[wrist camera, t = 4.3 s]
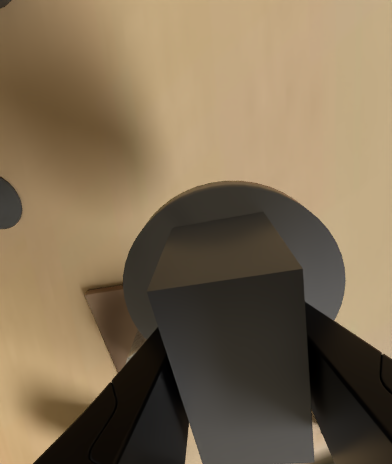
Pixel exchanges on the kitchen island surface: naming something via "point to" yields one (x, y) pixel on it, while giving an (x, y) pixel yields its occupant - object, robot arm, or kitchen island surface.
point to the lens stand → (113, 321)
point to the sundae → (9, 205)
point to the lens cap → (237, 314)
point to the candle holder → (4, 3)
